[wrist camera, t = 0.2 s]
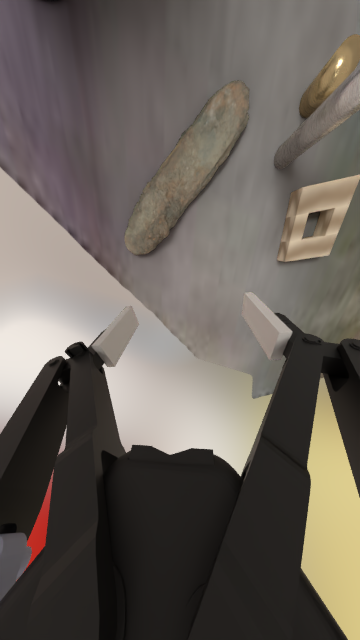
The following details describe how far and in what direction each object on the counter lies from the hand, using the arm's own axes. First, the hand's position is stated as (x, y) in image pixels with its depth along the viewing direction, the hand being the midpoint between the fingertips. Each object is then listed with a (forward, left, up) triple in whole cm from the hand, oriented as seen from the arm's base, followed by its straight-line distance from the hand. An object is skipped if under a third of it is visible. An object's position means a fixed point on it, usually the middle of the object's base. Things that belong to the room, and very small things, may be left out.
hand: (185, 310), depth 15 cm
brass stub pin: (-24, +25, -27) cm, 44 cm away
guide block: (-5, +30, -27) cm, 41 cm away
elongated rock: (-17, -1, -28) cm, 33 cm away
